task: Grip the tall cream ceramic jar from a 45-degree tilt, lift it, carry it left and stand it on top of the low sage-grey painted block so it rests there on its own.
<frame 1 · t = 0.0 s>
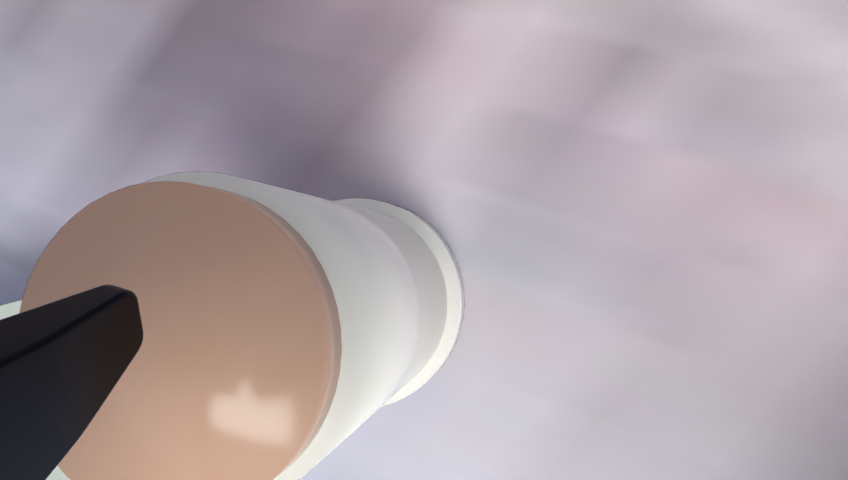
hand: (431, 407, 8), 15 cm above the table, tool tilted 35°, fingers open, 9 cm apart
cream jar: (366, 300, 24), on the table
sage block: (21, 457, 27), on the table
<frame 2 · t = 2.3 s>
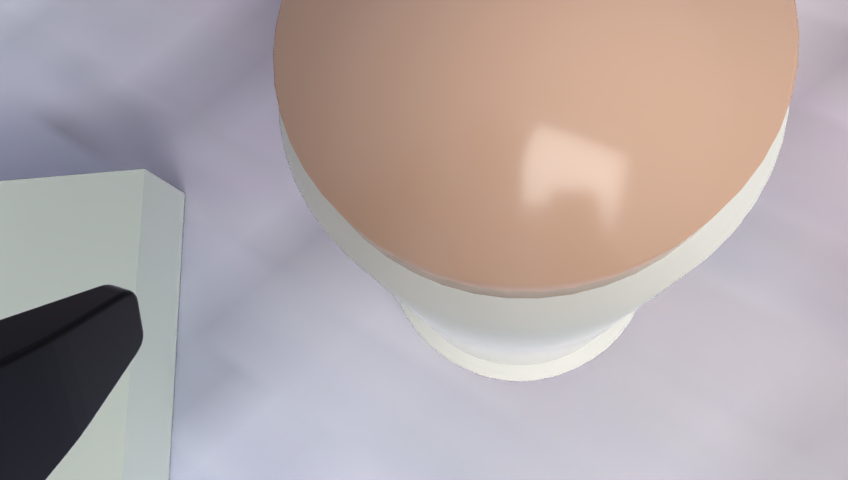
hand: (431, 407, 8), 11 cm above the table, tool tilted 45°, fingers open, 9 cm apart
cream jar: (515, 259, 20), on the table
sage block: (30, 379, 21), on the table
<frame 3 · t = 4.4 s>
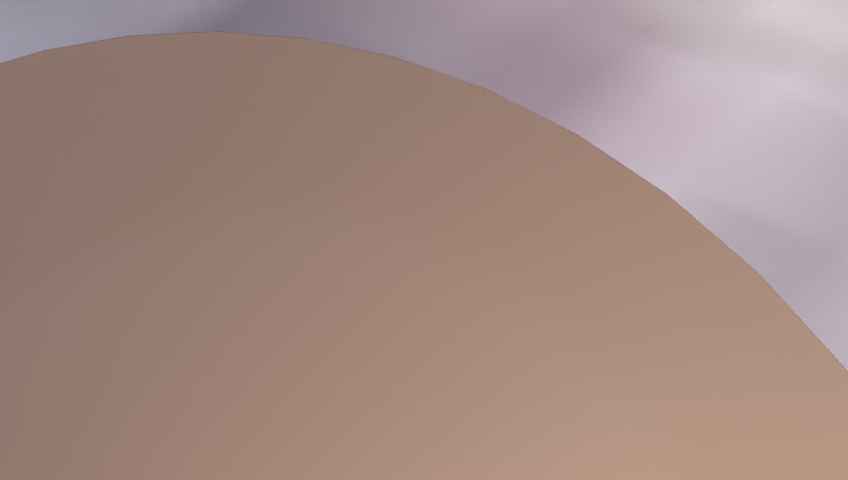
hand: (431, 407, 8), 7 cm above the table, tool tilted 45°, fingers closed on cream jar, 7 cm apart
cream jar: (449, 461, 15), on the table, touching gripper
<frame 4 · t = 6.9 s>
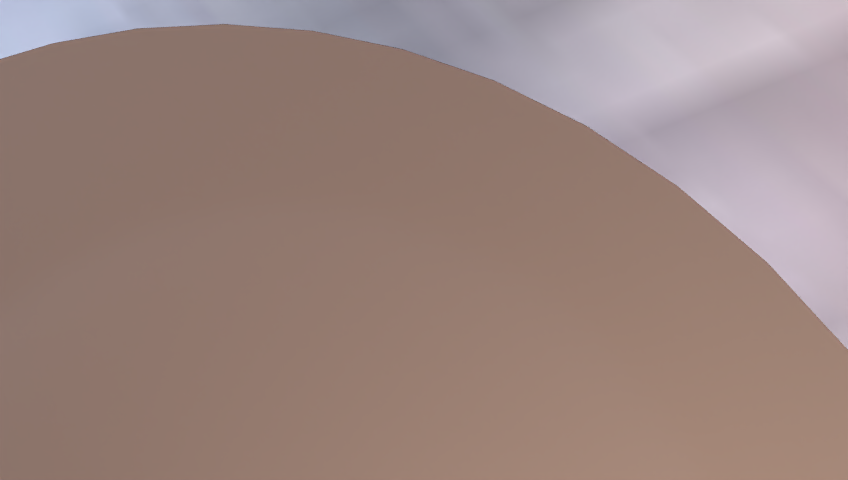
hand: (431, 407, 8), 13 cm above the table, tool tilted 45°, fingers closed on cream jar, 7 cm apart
cream jar: (451, 459, 15), point 7 cm above the table, touching gripper
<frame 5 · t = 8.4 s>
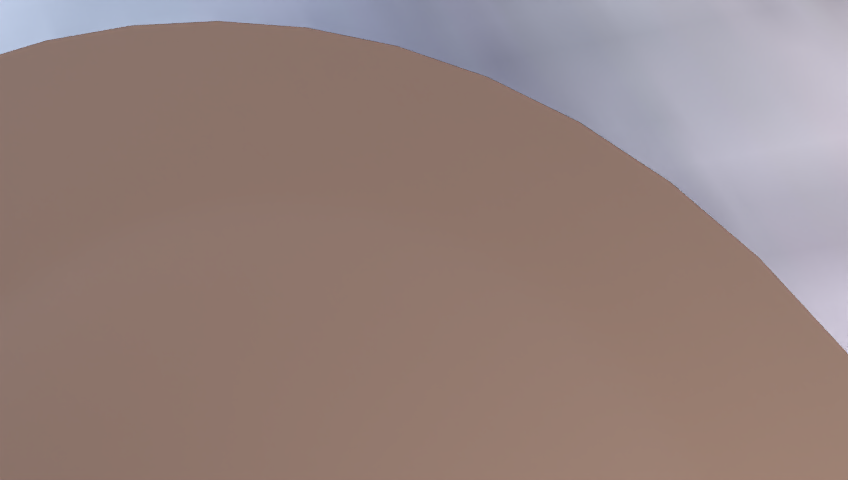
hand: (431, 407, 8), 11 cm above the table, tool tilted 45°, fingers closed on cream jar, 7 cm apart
cream jar: (450, 459, 15), point 4 cm above the table, touching gripper
when the fingers open (10 cm above the table, at t = 9.7 s): cream jar drops 1 cm, resting on sage block.
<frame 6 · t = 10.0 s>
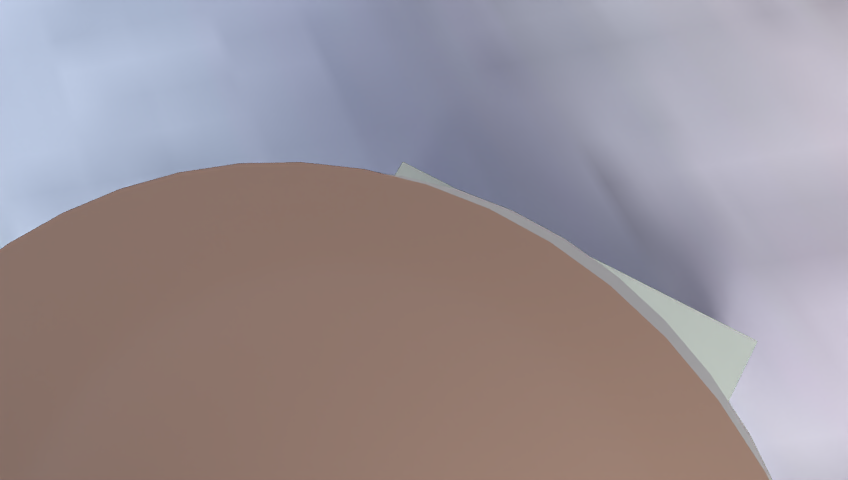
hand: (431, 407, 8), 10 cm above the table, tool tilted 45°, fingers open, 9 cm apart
cream jar: (453, 460, 16), point 3 cm above the table, touching sage block
sage block: (462, 447, 18), on the table
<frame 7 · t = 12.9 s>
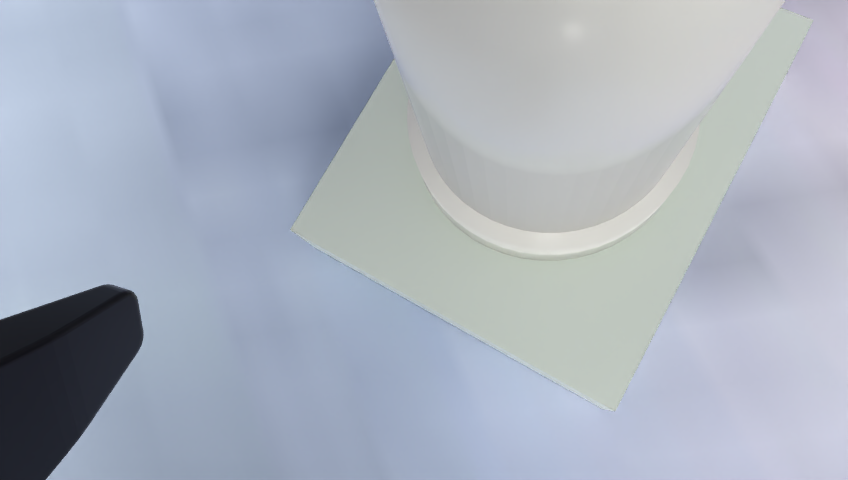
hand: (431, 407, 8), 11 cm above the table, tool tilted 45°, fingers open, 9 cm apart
cream jar: (546, 130, 18), point 2 cm above the table, touching sage block
sage block: (542, 158, 20), on the table
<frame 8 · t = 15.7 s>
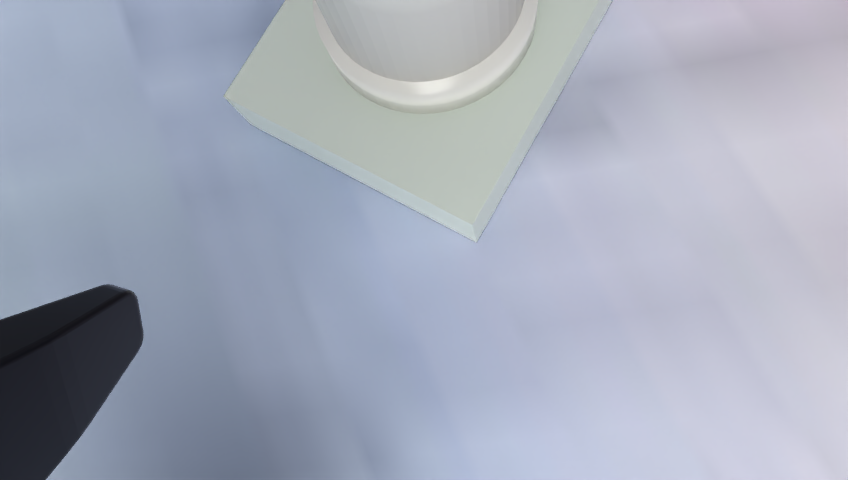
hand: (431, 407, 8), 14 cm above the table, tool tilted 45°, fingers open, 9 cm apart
cream jar: (429, 14, 22), point 2 cm above the table, touching sage block
sage block: (437, 48, 25), on the table
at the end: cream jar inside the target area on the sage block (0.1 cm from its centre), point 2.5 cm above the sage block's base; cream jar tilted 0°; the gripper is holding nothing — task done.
